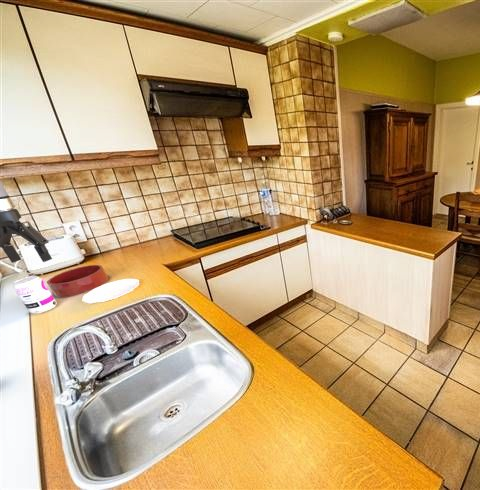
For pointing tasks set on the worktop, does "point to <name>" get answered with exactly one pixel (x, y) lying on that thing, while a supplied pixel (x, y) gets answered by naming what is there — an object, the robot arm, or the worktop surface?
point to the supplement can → (34, 294)
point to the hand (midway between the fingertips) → (32, 260)
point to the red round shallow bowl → (77, 280)
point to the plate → (110, 291)
